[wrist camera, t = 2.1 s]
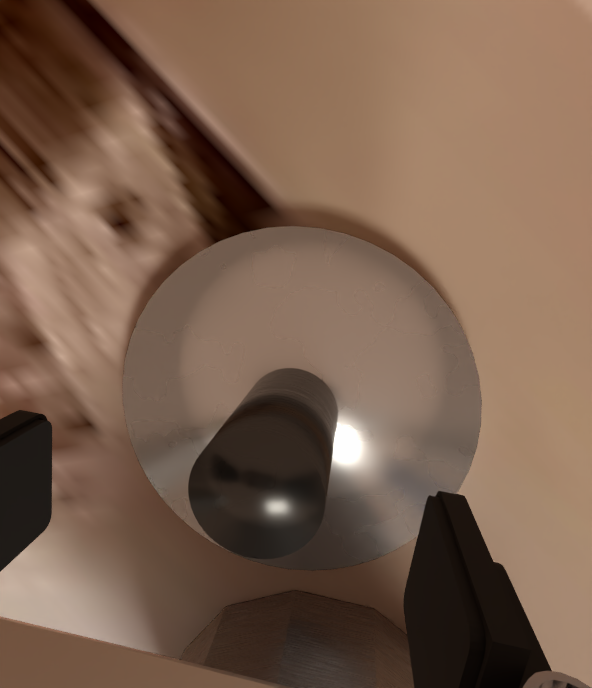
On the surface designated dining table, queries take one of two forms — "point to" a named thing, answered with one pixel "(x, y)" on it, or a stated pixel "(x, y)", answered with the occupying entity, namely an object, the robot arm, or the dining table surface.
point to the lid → (301, 397)
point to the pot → (305, 643)
